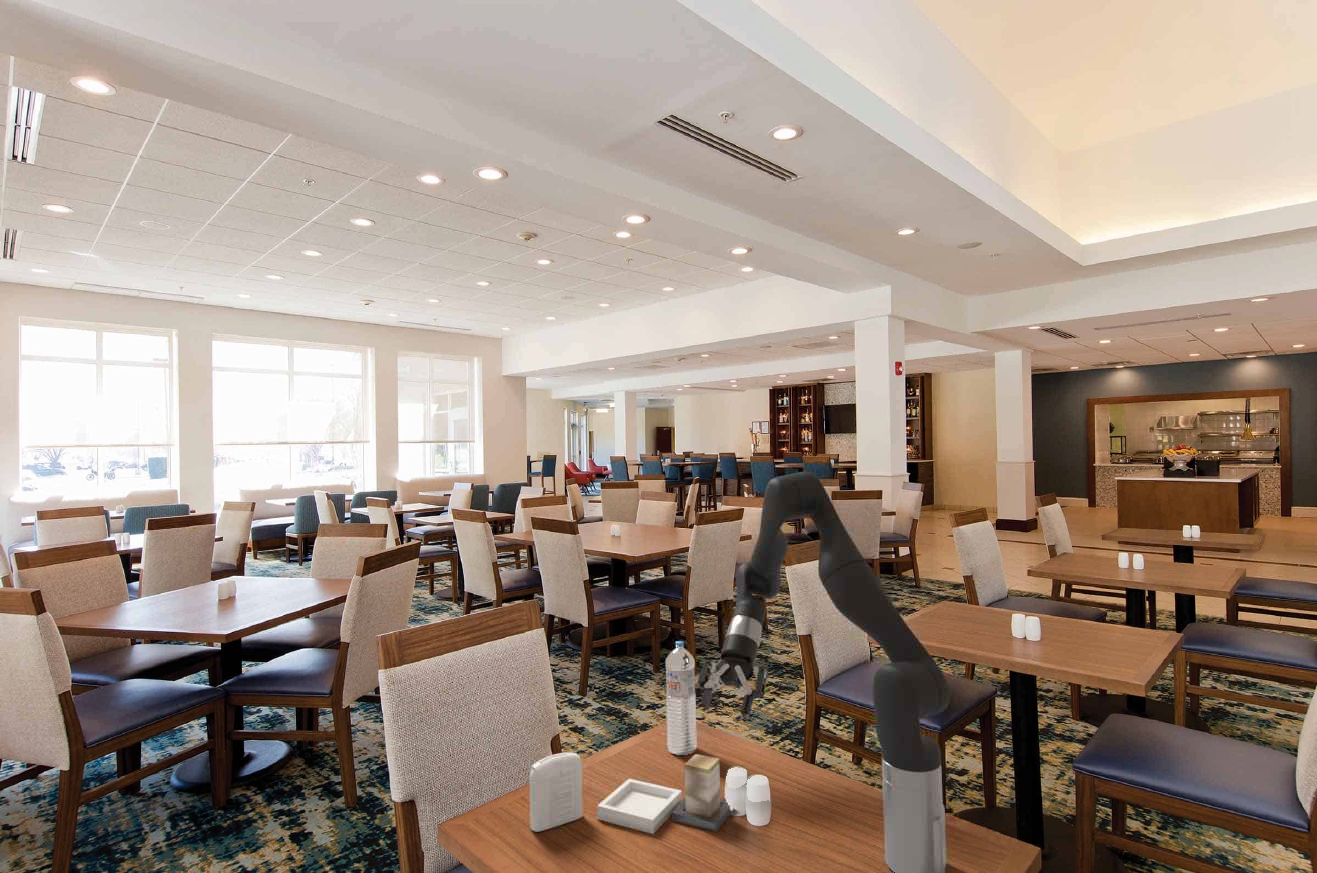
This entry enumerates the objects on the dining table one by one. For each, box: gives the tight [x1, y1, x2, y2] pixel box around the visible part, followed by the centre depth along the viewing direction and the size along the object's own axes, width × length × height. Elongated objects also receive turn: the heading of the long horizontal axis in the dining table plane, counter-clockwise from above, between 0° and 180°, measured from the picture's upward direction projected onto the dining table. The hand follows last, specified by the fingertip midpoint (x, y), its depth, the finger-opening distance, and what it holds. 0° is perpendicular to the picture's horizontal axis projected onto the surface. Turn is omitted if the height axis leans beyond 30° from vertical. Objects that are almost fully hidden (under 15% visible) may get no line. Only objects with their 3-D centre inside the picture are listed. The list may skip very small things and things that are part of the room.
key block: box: [684, 753, 721, 818], centre depth 129 cm, size 5×5×10 cm
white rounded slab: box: [529, 752, 584, 833], centre depth 128 cm, size 10×4×12 cm, turn 123°
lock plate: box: [671, 797, 732, 833], centre depth 129 cm, size 9×9×2 cm
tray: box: [596, 778, 683, 835], centre depth 131 cm, size 12×12×2 cm
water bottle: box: [664, 640, 698, 756], centre depth 158 cm, size 7×7×25 cm
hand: (724, 711), depth 140 cm, fingers open, 8 cm apart
